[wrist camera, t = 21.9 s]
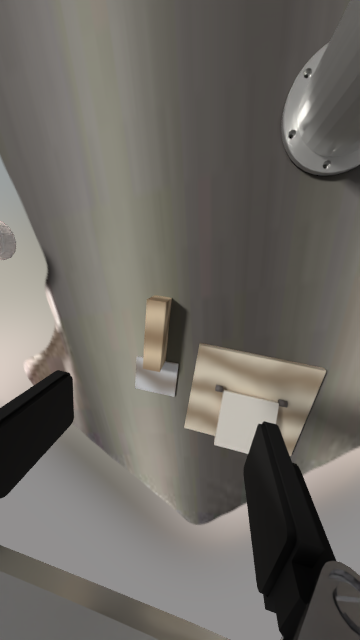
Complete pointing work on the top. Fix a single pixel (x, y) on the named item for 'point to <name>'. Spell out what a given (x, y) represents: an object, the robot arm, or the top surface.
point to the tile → (242, 419)
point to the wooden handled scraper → (156, 350)
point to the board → (252, 388)
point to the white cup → (6, 242)
